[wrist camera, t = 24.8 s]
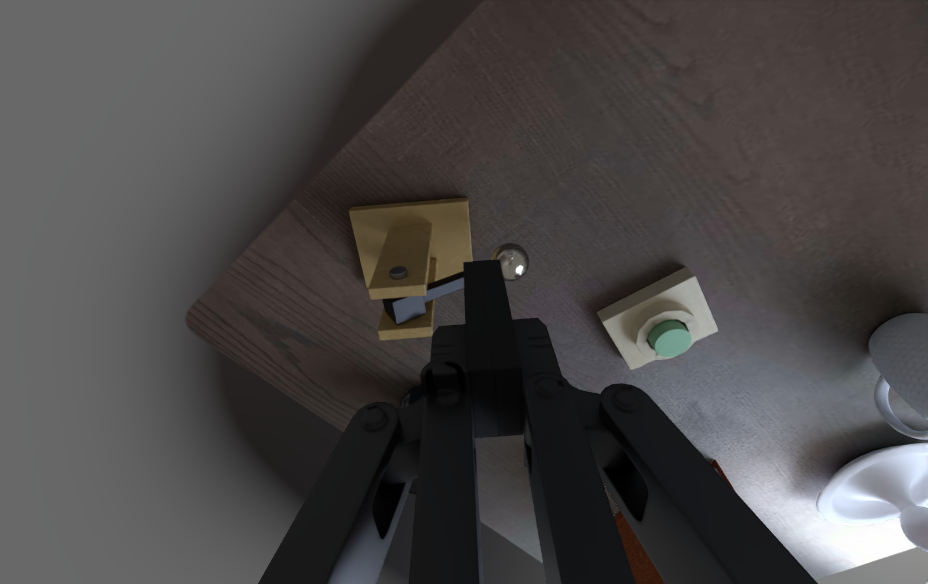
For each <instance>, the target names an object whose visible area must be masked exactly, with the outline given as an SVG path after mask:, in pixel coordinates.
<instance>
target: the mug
mask: <svg viewBox="0 0 928 584" xmlns="http://www.w3.org/2000/svg"><path fill="white" fill-rule="evenodd" d="M869 352H870V355H871V358H872V361H873V363H874V364H875V366H876V368H877V370H878V371H879V372H880V374H881V375H880V377H879V380H878V381H877V384H876V386H875V390H874V401H875V405H876V408H877V410H878V412H879V413H880V415H881V416H882V418H883V419H884V420H885V421H886V422H887V423H888V424H889V425H890V426H891V427H893V428H894V429H895V430H897V431H899V432H900V433H902V434H904V435H907V436H909V437H913V438H917V439H922V440H928V430H926V431H923V432H920V431H916V430H913V429H911V428H909V427H907V426H906V425H904V424H903V423H902V422H901V421H900V420H899V419H898V418H897V417H896V416H895V415H894V413H893V412H892V410H891V408H890V405H889V402H888V391H889V387H890V386H891V387H892V389H893V390H894V391H895V392H896V393H897V394H898V395H899V396H900V397H901V398H902V399H903V400H904V401H906V402H907V403H908V404H909V405H910V406H911V407H912V408H913V409H915V410H916V411H917V412H918V413H919V414H921V415H922V417H924V418H926V419H927V420H928V314H926V313H909V314H903V315H899V316H897V317H894V318H892V319H890V320H888V321H886V322H885V323H883V324H882V325H881V326H880V327H879V328H877V329H876V331H875V332H874V333H873V334H872V336H871V338H870V340H869Z"/></svg>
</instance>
